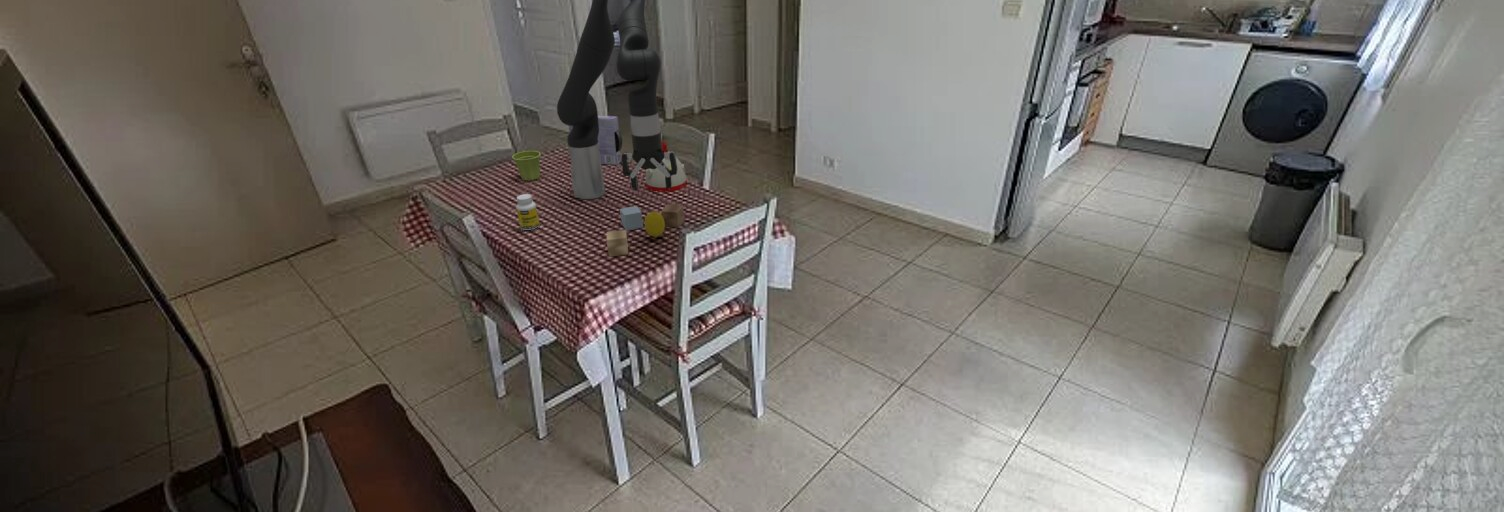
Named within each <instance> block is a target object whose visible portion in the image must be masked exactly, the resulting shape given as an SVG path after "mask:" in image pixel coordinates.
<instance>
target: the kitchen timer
mask: <svg viewBox="0 0 1504 512" xmlns="http://www.w3.org/2000/svg"><path fill="white" fill-rule="evenodd" d="M662 149H663V151H664V152H669V149H668V148H667V144H666V143H665V142H664V141H663V140H662ZM662 161H663V162H664V163H665V164H666V166H667V167H668V169H669V170H671V163H670V161H669V160H668V159H667V157H664V159H663V160H662ZM676 163H677V169H678V170H677V174H676V175H672V176H671V181H672V185H671V188H669V190H666V183H665V175H664V174H663V173H662V172H661V171H660V170H659V169H658V168H656V169H645V187H646V189H647V190H649V191H652V192H656V191H657V192H658V193H671V192H677V191H678V190H682V189H684V188H685V187H686V186H687V184H688V181H687V180H688V179H687V174H686V168H685V165H684V163H681V161H680V160H679V158H678V157H677V156H676ZM661 164H662V163H661ZM685 185H686V186H685ZM683 187H684V188H683ZM670 191H671V192H670Z"/></svg>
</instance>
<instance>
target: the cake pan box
mask: <svg viewBox="0 0 1504 512" xmlns="http://www.w3.org/2000/svg"><path fill="white" fill-rule="evenodd" d="M598 124H599V134H598V145H599V152H600V159H601V165H611V166H618V165H619V164H621V163H622V152H621V149H622V147H623V137H622V134H621V131H620V127H619V118H618V116H612V115H611V116H610V115H598ZM572 128H573V126H569V125H568V132H569V133H570V132H571V130H572Z"/></svg>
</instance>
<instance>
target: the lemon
mask: <svg viewBox="0 0 1504 512" xmlns="http://www.w3.org/2000/svg"><path fill="white" fill-rule="evenodd" d="M665 228H666V227H665V222H664V219H663V217H662V215H661V213H659V212H657V211H654V210H652V211H651V212H649V213H647V215H646V216H645V218H644V229H645V231H646V233H647V234H648V235H649V236H651V237H654V238H658V237H659V236H661V235H662V234H663V233H664V232H665Z"/></svg>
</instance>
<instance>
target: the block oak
mask: <svg viewBox="0 0 1504 512" xmlns="http://www.w3.org/2000/svg"><path fill="white" fill-rule="evenodd" d="M627 235H628V234H627V231H626V230H625V229H623V230H612V231H611V230H610V231H607V232H606V245H607V246H606V247H607V250H608V251H607V253H608V257H616V256H617V257H618V256H626V255H629V243H628V236H627Z"/></svg>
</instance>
